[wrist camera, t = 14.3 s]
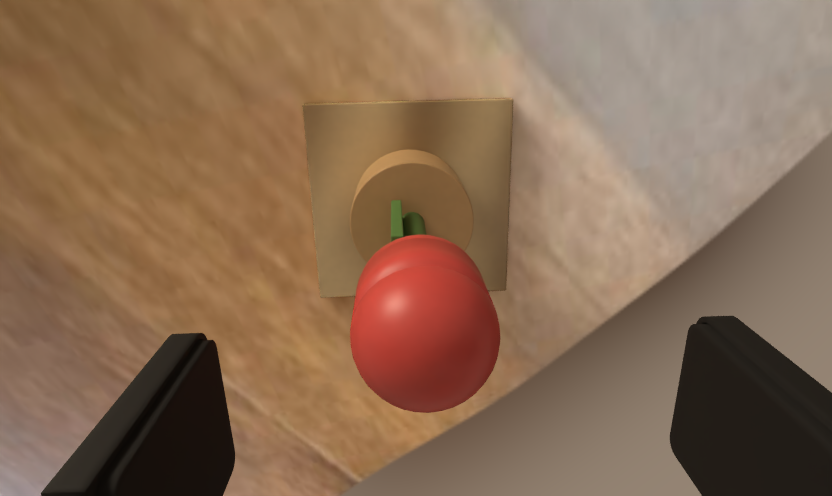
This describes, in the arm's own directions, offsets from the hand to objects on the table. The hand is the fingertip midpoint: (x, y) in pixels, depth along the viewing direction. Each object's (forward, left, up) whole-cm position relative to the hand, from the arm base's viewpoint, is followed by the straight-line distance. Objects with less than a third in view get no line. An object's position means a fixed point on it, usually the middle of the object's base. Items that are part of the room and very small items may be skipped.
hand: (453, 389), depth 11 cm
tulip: (0, 0, -14) cm, 14 cm away
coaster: (0, 0, -15) cm, 15 cm away
